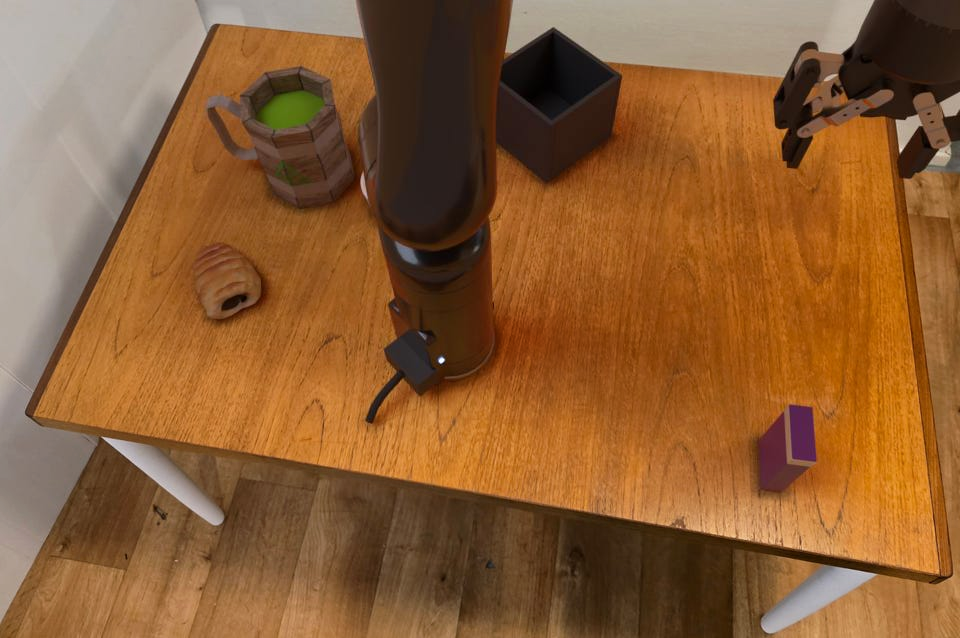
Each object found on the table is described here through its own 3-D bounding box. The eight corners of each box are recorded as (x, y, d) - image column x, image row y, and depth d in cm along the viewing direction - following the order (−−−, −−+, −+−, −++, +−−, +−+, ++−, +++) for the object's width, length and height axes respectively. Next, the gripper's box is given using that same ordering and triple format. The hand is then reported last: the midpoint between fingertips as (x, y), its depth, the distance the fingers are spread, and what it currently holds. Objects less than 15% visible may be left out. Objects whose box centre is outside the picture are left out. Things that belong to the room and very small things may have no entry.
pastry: (185, 265, 85) (172, 246, 82) (240, 240, 86) (230, 220, 83) (213, 327, 81) (201, 309, 77) (271, 300, 82) (262, 281, 79)
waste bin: (547, 184, 89) (551, 125, 81) (484, 133, 93) (482, 72, 85) (611, 136, 93) (622, 75, 84) (549, 89, 97) (553, 26, 88)
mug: (365, 145, 93) (348, 70, 82) (343, 214, 88) (321, 143, 77) (246, 131, 95) (214, 56, 84) (217, 198, 90) (179, 127, 79)
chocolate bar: (759, 490, 70) (791, 459, 63) (757, 439, 73) (788, 403, 65) (782, 493, 70) (817, 462, 62) (780, 442, 73) (813, 406, 65)
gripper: (838, 17, 43) (755, 194, 57) (1099, 35, 42) (949, 212, 56) (827, -63, 47) (752, 123, 61) (1066, -49, 46) (933, 137, 60)
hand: (846, 165), depth 59 cm, fingers open, 8 cm apart
